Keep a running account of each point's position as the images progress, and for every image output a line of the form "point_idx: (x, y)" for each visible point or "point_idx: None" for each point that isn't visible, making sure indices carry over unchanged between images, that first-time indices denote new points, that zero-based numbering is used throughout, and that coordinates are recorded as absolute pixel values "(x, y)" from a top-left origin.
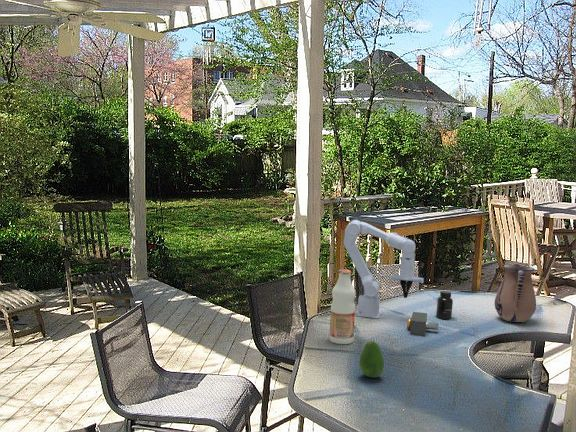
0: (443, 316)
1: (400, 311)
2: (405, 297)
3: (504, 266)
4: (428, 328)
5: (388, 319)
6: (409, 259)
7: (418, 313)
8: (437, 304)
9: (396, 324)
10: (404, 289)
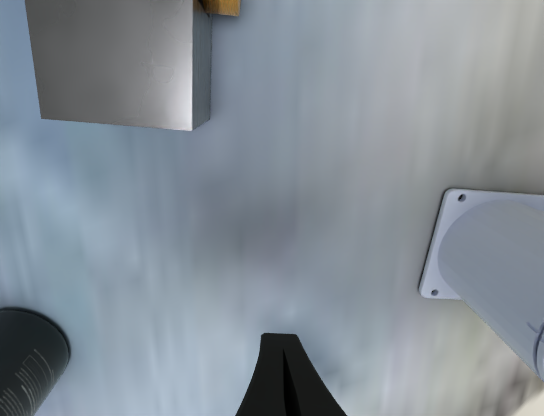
0: (1, 320)
1: None
2: (278, 335)
3: None
4: None
5: (373, 198)
6: None
7: (129, 76)
8: (5, 412)
9: (324, 89)
10: (314, 413)
